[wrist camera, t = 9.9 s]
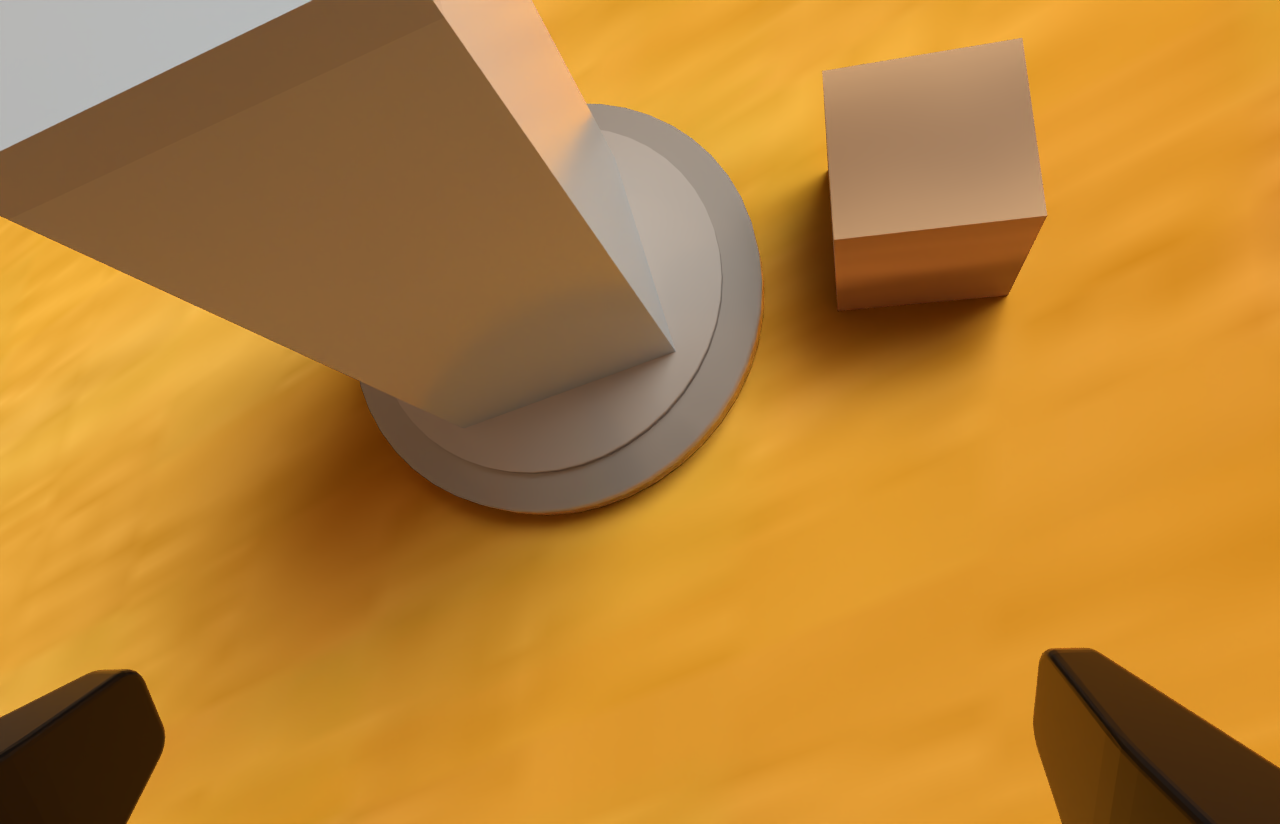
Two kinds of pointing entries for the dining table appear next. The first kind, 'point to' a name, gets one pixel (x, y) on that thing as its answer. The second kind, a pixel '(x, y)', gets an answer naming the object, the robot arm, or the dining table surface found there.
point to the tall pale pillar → (339, 184)
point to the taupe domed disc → (636, 397)
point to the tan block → (932, 176)
